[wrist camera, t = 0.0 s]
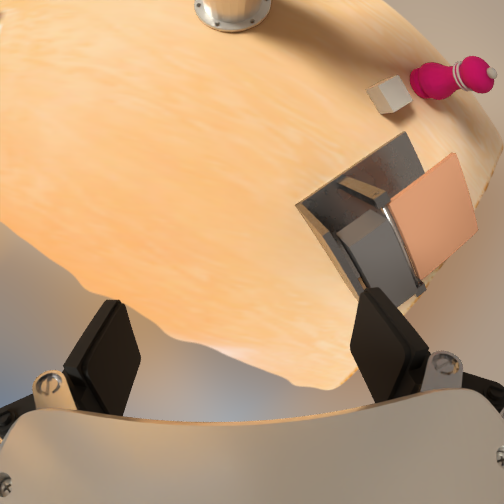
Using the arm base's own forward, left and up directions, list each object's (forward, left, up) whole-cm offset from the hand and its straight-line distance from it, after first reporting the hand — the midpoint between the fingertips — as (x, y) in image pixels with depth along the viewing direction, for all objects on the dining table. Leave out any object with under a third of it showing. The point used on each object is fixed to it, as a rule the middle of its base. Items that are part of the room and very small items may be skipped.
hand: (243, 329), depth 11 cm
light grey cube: (+1, +30, -37) cm, 48 cm away
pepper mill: (+3, +41, -38) cm, 55 cm away
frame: (+18, +18, -37) cm, 45 cm away
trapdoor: (+18, +19, -26) cm, 37 cm away
